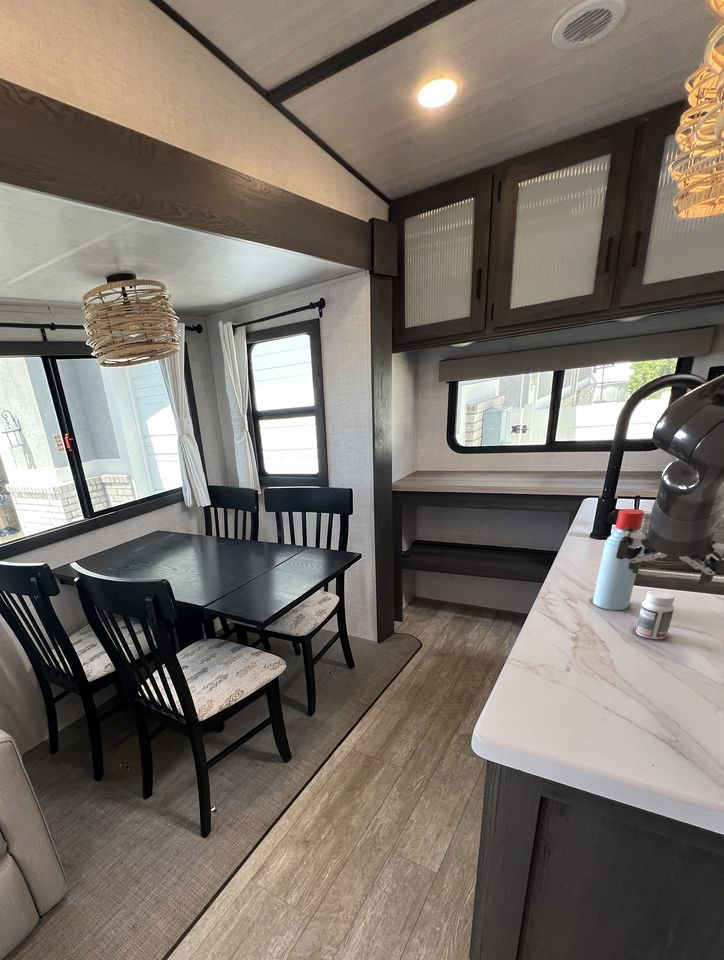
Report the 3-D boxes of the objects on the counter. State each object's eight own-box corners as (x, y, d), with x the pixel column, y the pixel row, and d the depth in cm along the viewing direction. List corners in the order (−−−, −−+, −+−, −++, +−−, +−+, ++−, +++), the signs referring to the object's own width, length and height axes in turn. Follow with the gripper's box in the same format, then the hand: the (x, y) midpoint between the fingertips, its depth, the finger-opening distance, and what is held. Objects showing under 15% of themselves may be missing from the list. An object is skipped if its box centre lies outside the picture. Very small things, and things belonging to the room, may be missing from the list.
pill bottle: (662, 629, 90) (673, 590, 87) (669, 641, 87) (681, 600, 83) (632, 626, 92) (642, 588, 89) (638, 638, 89) (648, 597, 85)
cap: (639, 526, 96) (643, 509, 94) (640, 531, 93) (644, 514, 91) (615, 524, 98) (619, 508, 96) (615, 529, 95) (619, 513, 93)
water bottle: (627, 600, 103) (650, 510, 95) (628, 612, 98) (652, 518, 90) (593, 596, 106) (611, 508, 98) (592, 607, 101) (611, 516, 93)
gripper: (762, 501, 61) (732, 562, 73) (630, 491, 70) (622, 547, 82) (748, 549, 60) (719, 604, 72) (615, 532, 69) (609, 583, 81)
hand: (668, 573), depth 77 cm, fingers open, 8 cm apart
